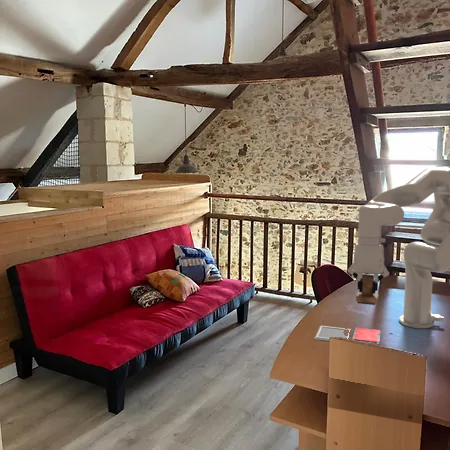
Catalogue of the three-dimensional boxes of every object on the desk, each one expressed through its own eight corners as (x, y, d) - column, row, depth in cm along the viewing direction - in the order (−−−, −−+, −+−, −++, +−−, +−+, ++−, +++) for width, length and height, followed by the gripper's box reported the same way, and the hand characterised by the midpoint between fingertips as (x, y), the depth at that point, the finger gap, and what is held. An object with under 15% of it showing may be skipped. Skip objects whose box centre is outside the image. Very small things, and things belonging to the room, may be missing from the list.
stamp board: (352, 329, 172) (352, 328, 172) (348, 343, 160) (348, 342, 160) (320, 325, 176) (320, 324, 176) (314, 339, 164) (314, 337, 164)
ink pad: (380, 333, 168) (380, 329, 168) (379, 347, 157) (379, 342, 157) (355, 330, 171) (355, 326, 171) (351, 343, 160) (351, 339, 160)
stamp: (378, 299, 164) (379, 274, 162) (376, 305, 158) (377, 279, 156) (357, 297, 167) (358, 272, 165) (355, 303, 160) (356, 277, 159)
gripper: (395, 240, 159) (393, 291, 162) (345, 237, 165) (344, 286, 168) (394, 244, 152) (392, 297, 155) (343, 241, 158) (341, 292, 161)
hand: (367, 291), depth 161 cm, fingers closed on stamp, 4 cm apart
